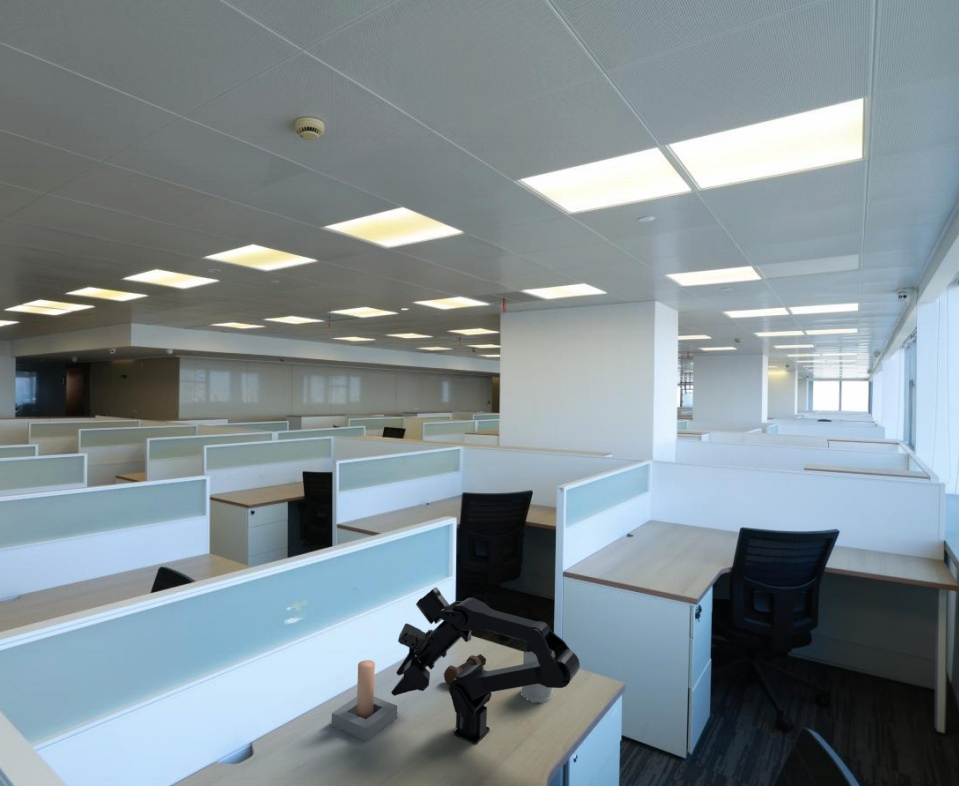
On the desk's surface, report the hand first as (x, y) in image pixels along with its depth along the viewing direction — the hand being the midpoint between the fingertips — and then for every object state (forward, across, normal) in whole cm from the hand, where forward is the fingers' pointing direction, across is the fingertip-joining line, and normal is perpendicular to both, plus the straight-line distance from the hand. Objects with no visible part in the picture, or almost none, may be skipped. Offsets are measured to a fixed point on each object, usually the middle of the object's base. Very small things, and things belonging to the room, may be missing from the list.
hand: (395, 683), depth 135 cm
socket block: (+12, 0, +2) cm, 12 cm away
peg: (+12, 0, +2) cm, 12 cm away
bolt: (-6, -23, +20) cm, 31 cm away
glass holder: (-20, -16, +34) cm, 43 cm away
